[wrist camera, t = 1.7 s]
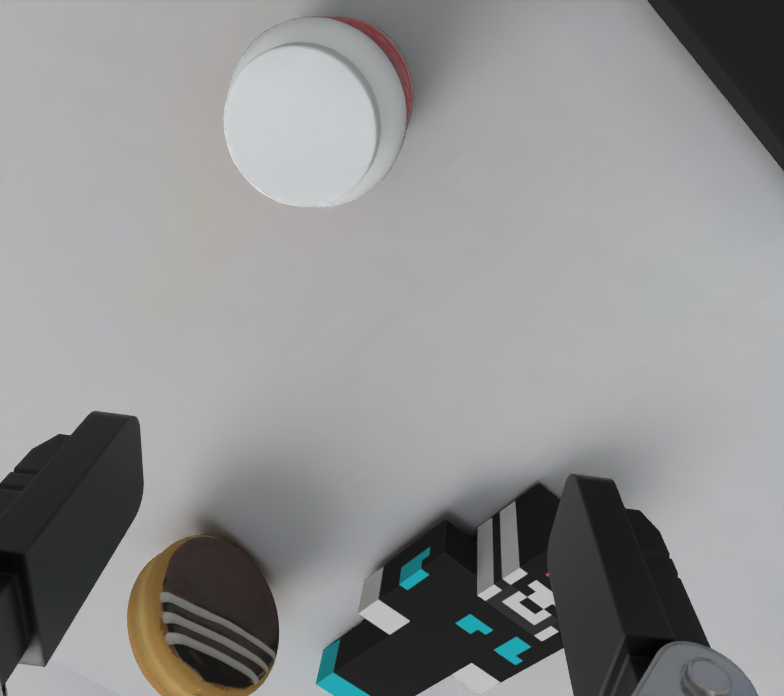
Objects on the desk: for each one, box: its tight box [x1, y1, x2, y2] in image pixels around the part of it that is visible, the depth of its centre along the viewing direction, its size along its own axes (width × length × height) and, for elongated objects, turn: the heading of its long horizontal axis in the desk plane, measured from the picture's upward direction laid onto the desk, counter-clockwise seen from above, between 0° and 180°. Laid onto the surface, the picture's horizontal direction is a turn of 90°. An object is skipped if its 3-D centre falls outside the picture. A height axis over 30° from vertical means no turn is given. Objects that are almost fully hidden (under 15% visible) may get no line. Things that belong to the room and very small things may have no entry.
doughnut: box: [127, 535, 279, 696], centre depth 38 cm, size 9×4×10 cm, turn 38°
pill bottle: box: [223, 16, 413, 207], centre depth 25 cm, size 6×6×11 cm
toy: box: [316, 484, 564, 696], centre depth 41 cm, size 10×5×20 cm
